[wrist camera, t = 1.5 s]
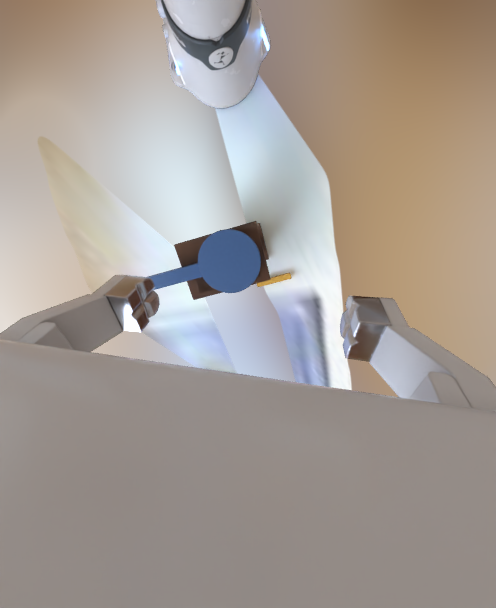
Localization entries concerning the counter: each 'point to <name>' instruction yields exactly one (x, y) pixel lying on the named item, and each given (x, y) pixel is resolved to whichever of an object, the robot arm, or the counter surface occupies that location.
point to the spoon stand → (191, 250)
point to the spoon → (219, 263)
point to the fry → (275, 279)
